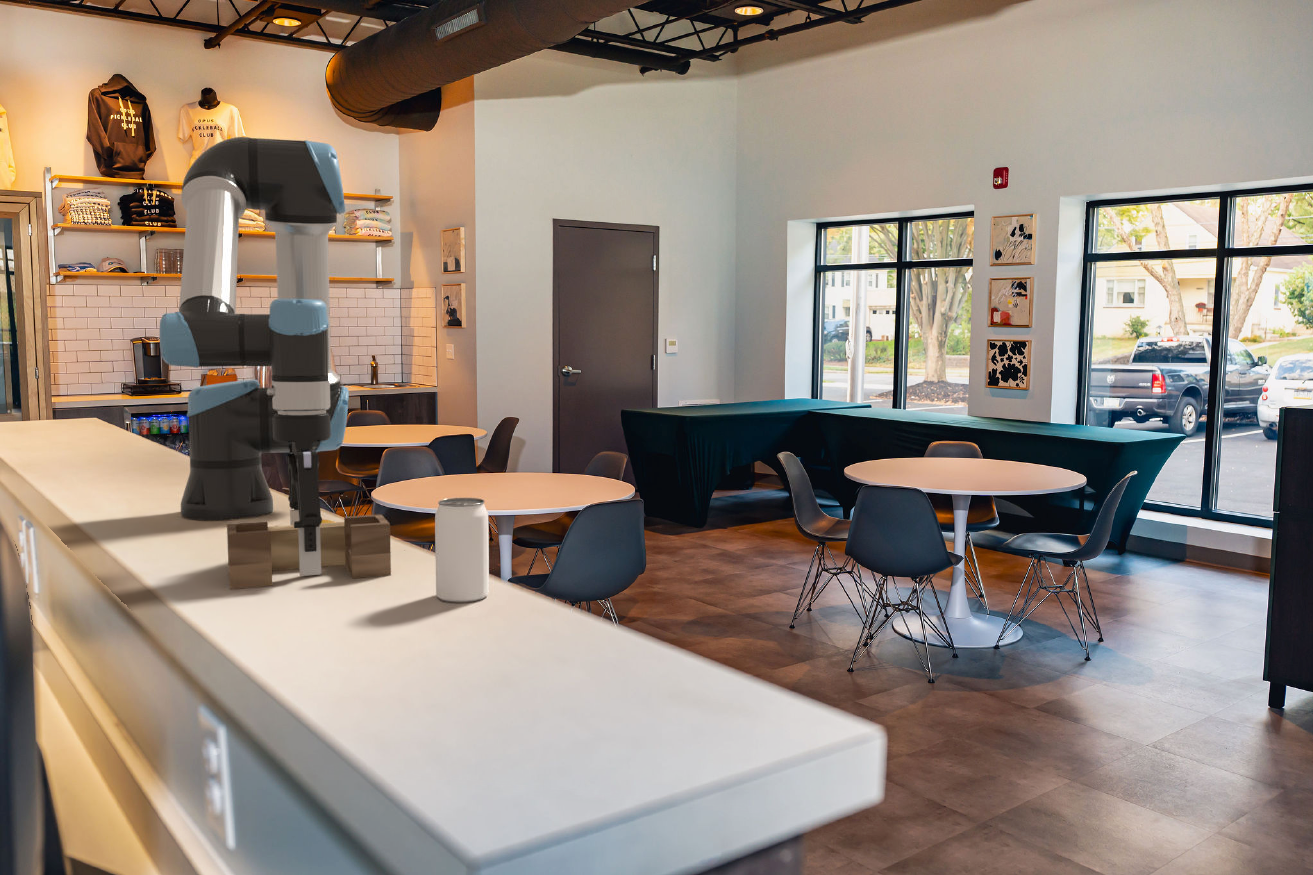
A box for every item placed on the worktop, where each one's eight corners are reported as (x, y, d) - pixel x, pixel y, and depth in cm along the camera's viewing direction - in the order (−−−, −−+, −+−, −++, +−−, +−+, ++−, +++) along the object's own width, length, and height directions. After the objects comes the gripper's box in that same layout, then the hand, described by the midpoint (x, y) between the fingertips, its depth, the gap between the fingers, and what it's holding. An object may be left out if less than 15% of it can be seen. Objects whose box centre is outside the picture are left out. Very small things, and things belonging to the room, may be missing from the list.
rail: (243, 567, 141) (242, 528, 140) (363, 558, 148) (362, 520, 147) (244, 572, 138) (243, 532, 138) (366, 562, 145) (365, 524, 144)
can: (477, 605, 123) (476, 506, 122) (427, 601, 125) (425, 504, 123) (496, 591, 130) (495, 498, 128) (448, 588, 131) (447, 496, 130)
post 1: (228, 576, 136) (226, 524, 136) (268, 572, 138) (267, 521, 138) (230, 589, 130) (228, 534, 129) (272, 585, 132) (270, 531, 131)
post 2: (391, 574, 138) (389, 523, 137) (352, 578, 136) (351, 526, 135) (382, 563, 144) (381, 514, 144) (345, 566, 142) (344, 516, 142)
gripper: (266, 406, 150) (271, 548, 153) (278, 420, 128) (283, 586, 130) (320, 405, 153) (323, 544, 156) (341, 418, 131) (345, 581, 133)
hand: (305, 564), depth 143 cm, fingers open, 13 cm apart
